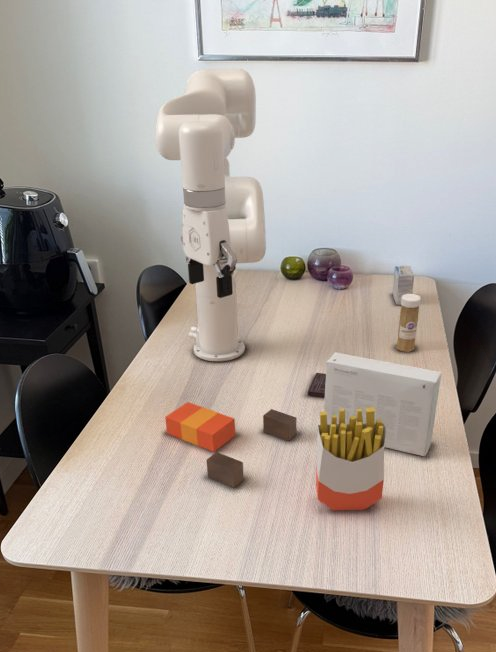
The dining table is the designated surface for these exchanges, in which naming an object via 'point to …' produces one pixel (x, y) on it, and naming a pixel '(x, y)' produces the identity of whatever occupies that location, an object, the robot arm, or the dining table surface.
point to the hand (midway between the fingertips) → (210, 289)
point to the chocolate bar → (318, 385)
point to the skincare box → (385, 398)
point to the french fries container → (350, 461)
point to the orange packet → (200, 426)
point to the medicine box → (402, 282)
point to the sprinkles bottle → (408, 322)
